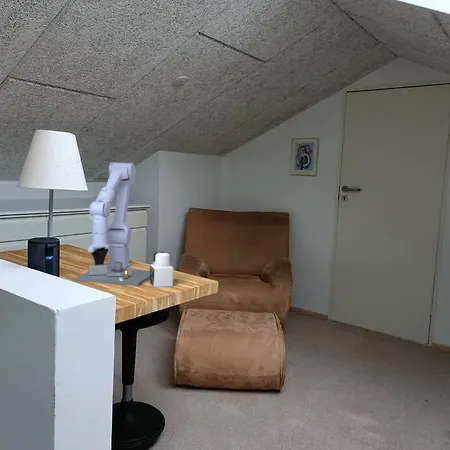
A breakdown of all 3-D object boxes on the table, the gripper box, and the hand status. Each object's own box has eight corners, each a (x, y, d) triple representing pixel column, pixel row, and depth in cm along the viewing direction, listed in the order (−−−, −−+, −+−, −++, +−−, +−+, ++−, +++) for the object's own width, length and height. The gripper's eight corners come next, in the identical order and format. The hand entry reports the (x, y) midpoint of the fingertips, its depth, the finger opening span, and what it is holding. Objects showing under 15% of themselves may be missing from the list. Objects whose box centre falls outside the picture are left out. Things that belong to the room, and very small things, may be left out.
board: (101, 269, 185) (101, 255, 184) (156, 274, 180) (157, 260, 180) (76, 280, 165) (76, 265, 164) (137, 286, 161) (138, 270, 160)
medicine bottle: (149, 282, 166) (150, 250, 165) (168, 281, 169) (169, 250, 167) (153, 287, 160) (154, 254, 158) (173, 286, 162) (174, 253, 161)
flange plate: (129, 270, 178) (129, 261, 178) (132, 275, 170) (132, 266, 169) (88, 271, 173) (88, 262, 173) (89, 277, 165) (89, 267, 164)
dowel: (125, 278, 167) (125, 270, 167) (129, 278, 167) (129, 270, 166) (123, 278, 165) (123, 270, 165) (127, 279, 165) (127, 271, 165)
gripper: (100, 235, 164) (100, 272, 166) (117, 231, 179) (117, 264, 180) (82, 234, 166) (82, 270, 167) (101, 230, 180) (100, 263, 181)
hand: (99, 267), depth 174 cm, fingers closed
